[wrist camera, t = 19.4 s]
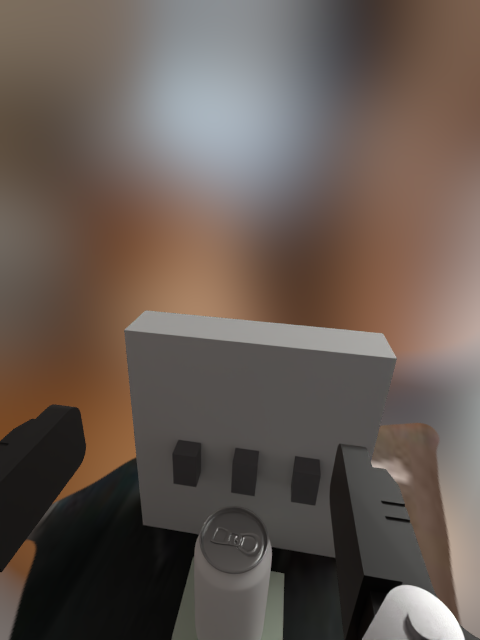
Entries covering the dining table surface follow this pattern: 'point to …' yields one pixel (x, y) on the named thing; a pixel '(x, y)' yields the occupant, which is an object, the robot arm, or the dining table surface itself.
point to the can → (231, 575)
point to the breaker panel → (250, 419)
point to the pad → (273, 622)
